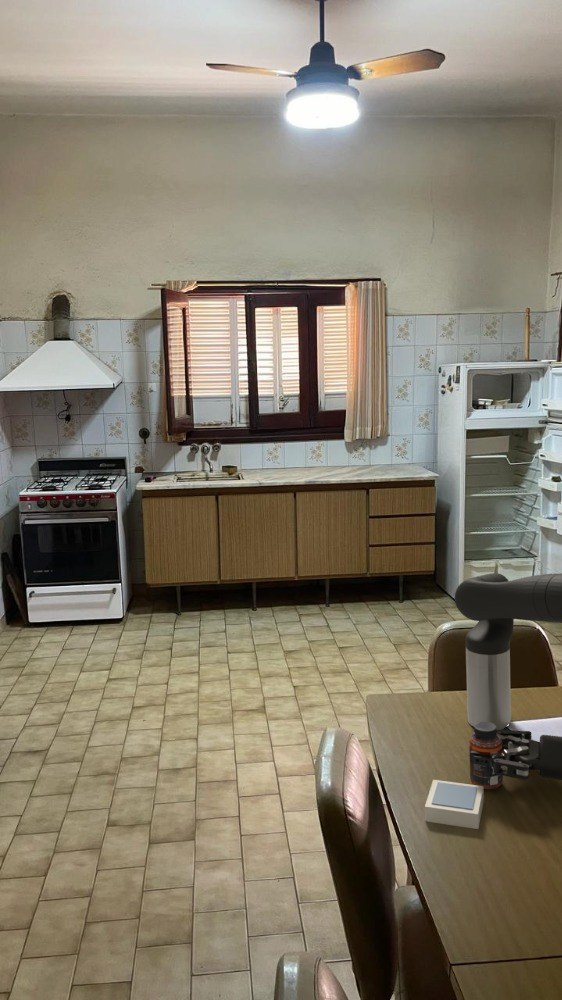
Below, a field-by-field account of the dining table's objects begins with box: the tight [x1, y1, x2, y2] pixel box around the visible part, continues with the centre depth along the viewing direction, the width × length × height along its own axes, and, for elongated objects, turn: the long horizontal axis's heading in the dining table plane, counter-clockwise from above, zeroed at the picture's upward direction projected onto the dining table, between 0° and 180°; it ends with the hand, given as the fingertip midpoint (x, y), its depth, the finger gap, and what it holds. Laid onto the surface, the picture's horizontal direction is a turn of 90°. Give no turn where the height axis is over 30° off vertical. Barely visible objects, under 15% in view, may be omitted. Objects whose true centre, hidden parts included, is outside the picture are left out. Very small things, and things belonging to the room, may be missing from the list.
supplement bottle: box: [468, 722, 504, 790], centre depth 140 cm, size 6×6×11 cm
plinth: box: [424, 779, 485, 830], centre depth 133 cm, size 9×9×3 cm
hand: (472, 748), depth 141 cm, fingers closed on supplement bottle, 6 cm apart
